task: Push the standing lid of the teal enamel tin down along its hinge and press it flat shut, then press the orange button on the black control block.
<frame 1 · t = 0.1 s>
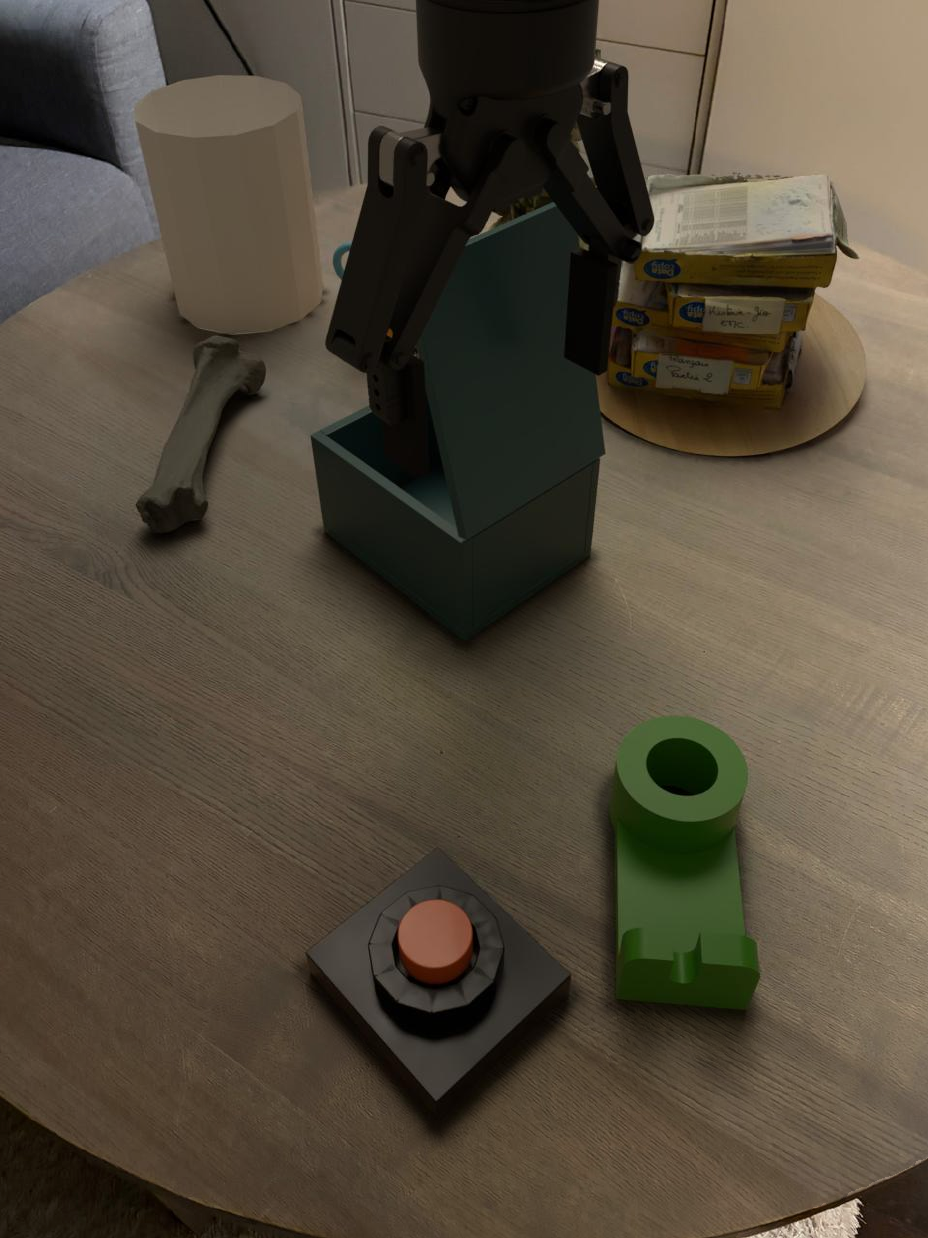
hand: (500, 411, 57), 18 cm above the table, tool pointing down, fingers open, 13 cm apart
control block: (438, 982, 54), on the table
bone: (212, 453, 86), on the table
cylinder: (402, 337, 98), on the table
tin: (455, 543, 77), on the table
container: (251, 297, 103), on the table
figurine: (536, 258, 108), on the table
green ring bracket: (673, 875, 58), on the table
tin lid: (514, 372, 62), point 17 cm above the table, hinge at 75.0°
button: (435, 941, 51), point 4 cm above the table, slide at 0.1 cm
paper stack: (713, 374, 93), on the table
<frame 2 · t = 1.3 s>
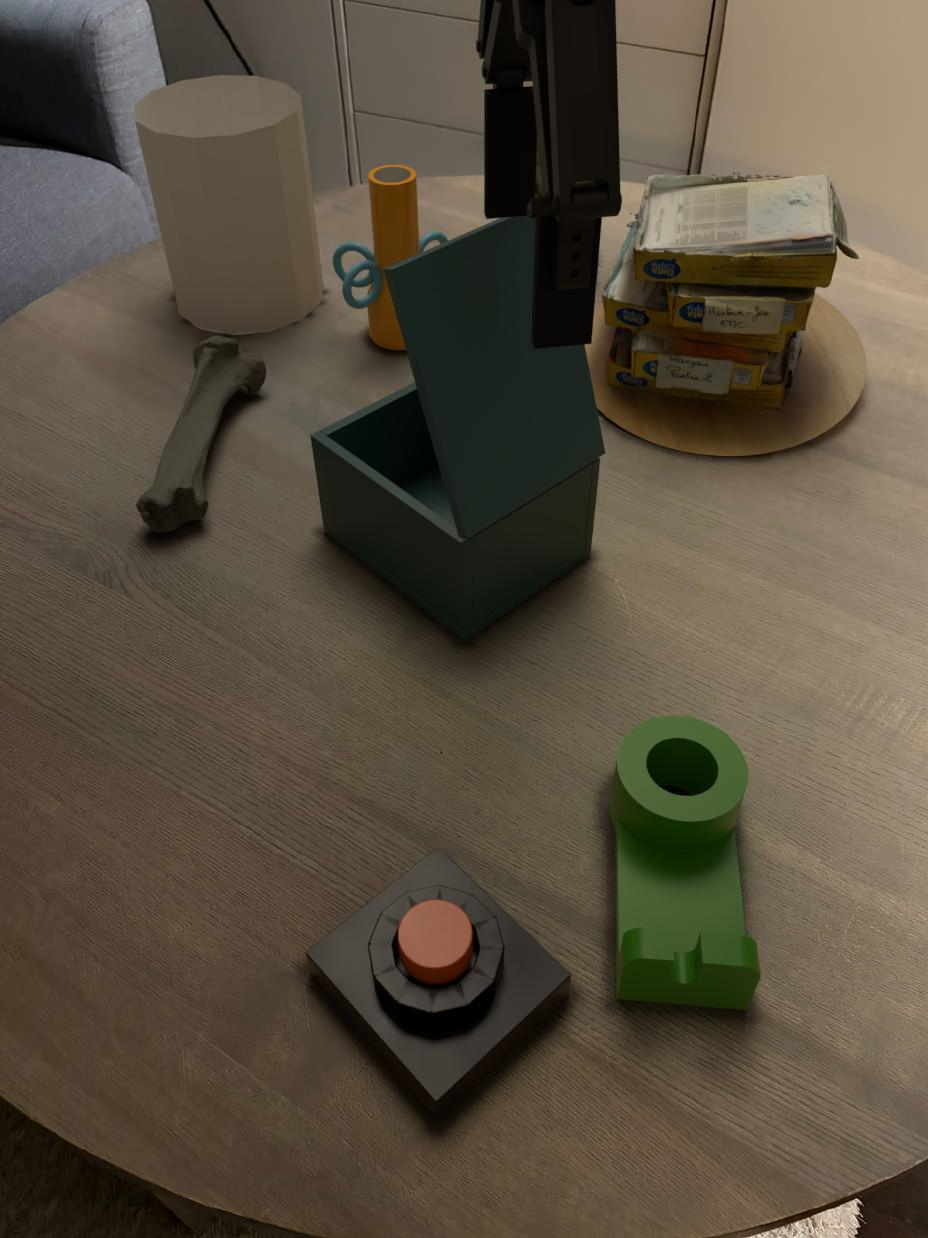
hand: (532, 273, 53), 26 cm above the table, tool pointing down, fingers open, 13 cm apart
tin lid: (506, 371, 63), point 17 cm above the table, hinge at 70.0°
everything else where it was.
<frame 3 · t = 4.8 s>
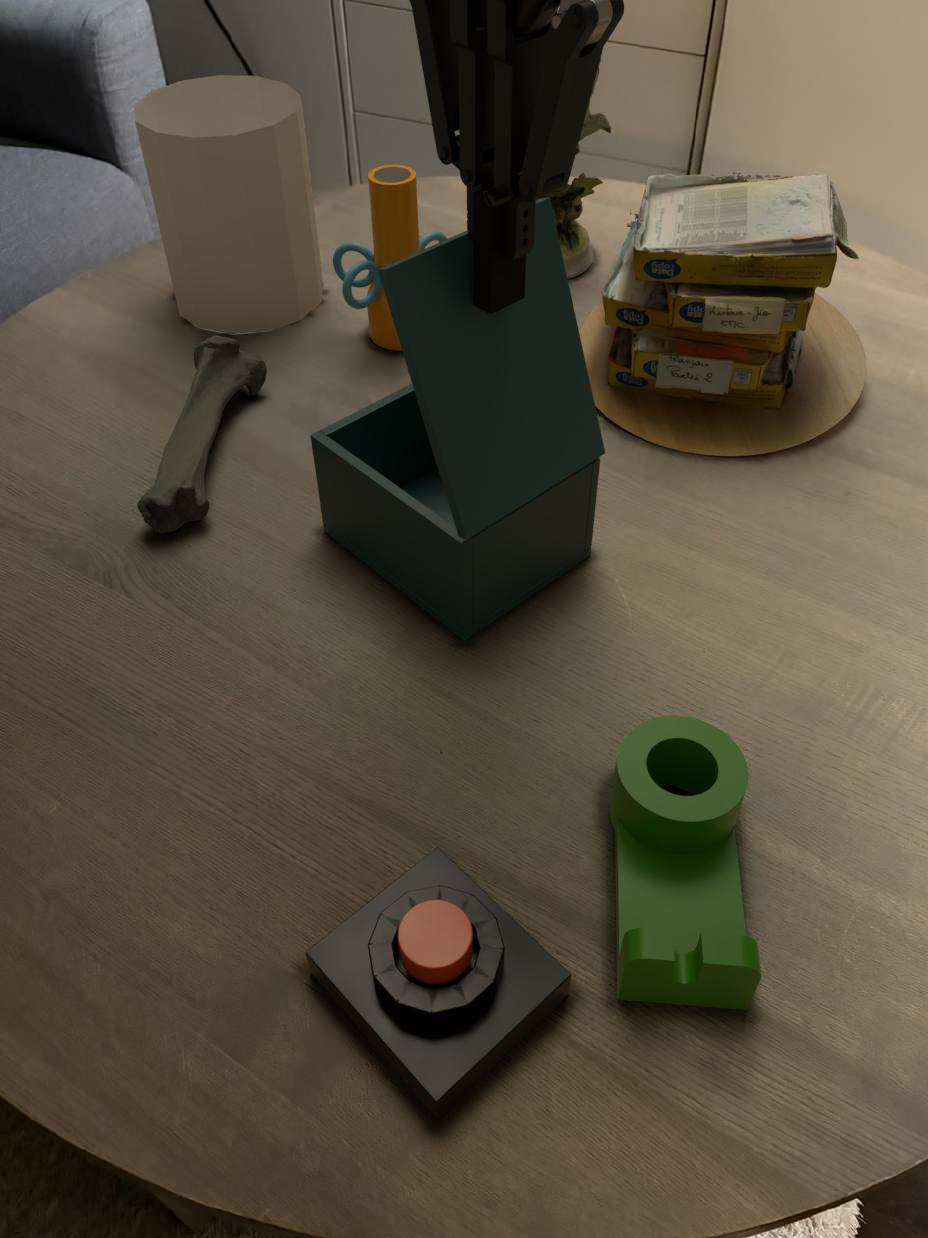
hand: (499, 300, 60), 21 cm above the table, tool pointing down, fingers closed
tin lid: (503, 370, 63), point 17 cm above the table, hinge at 68.1°, touching gripper
everything else where it was.
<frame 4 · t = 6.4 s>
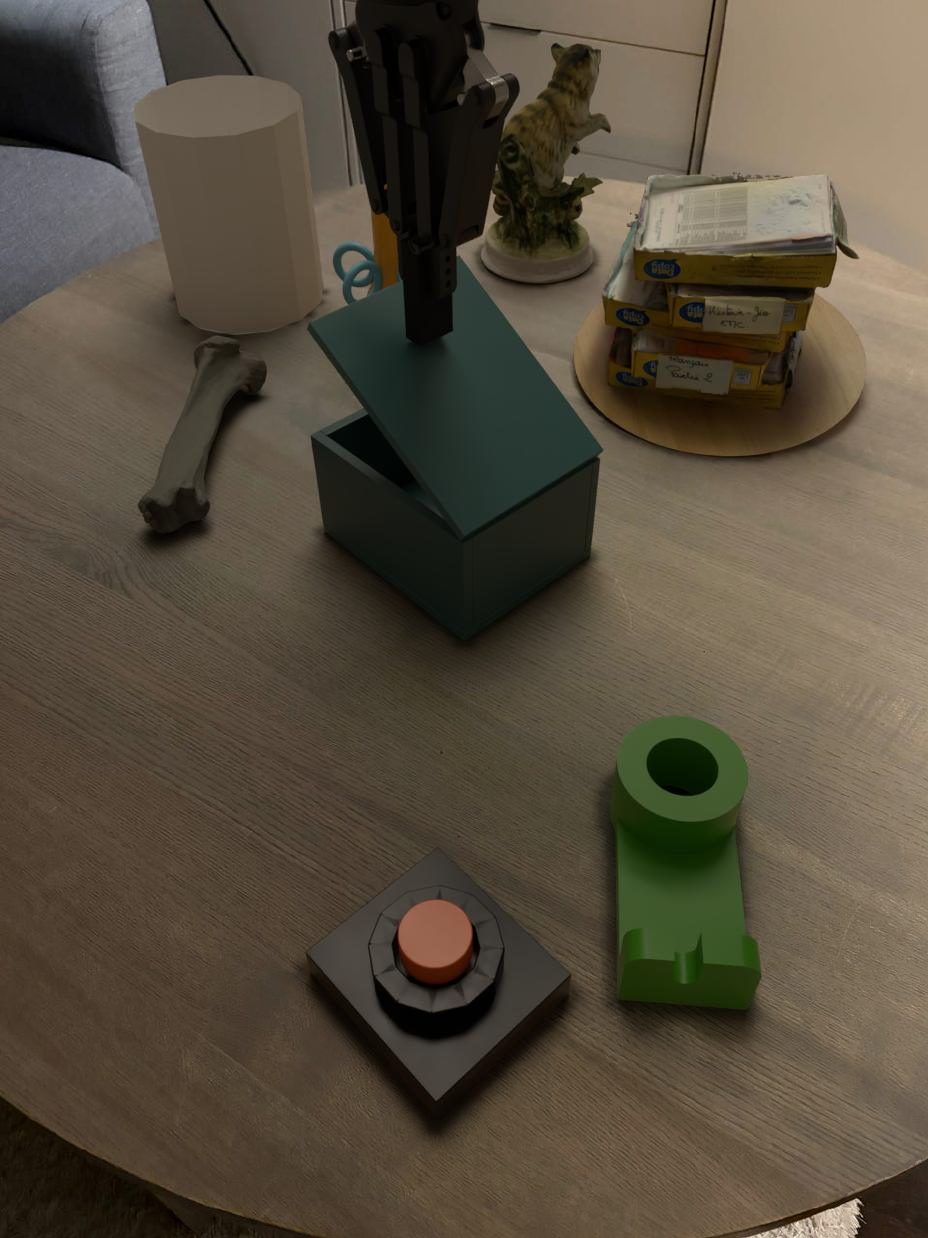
hand: (429, 333, 67), 16 cm above the table, tool pointing down, fingers closed
tin lid: (459, 391, 67), point 14 cm above the table, hinge at 31.4°, touching gripper
everything else where it was.
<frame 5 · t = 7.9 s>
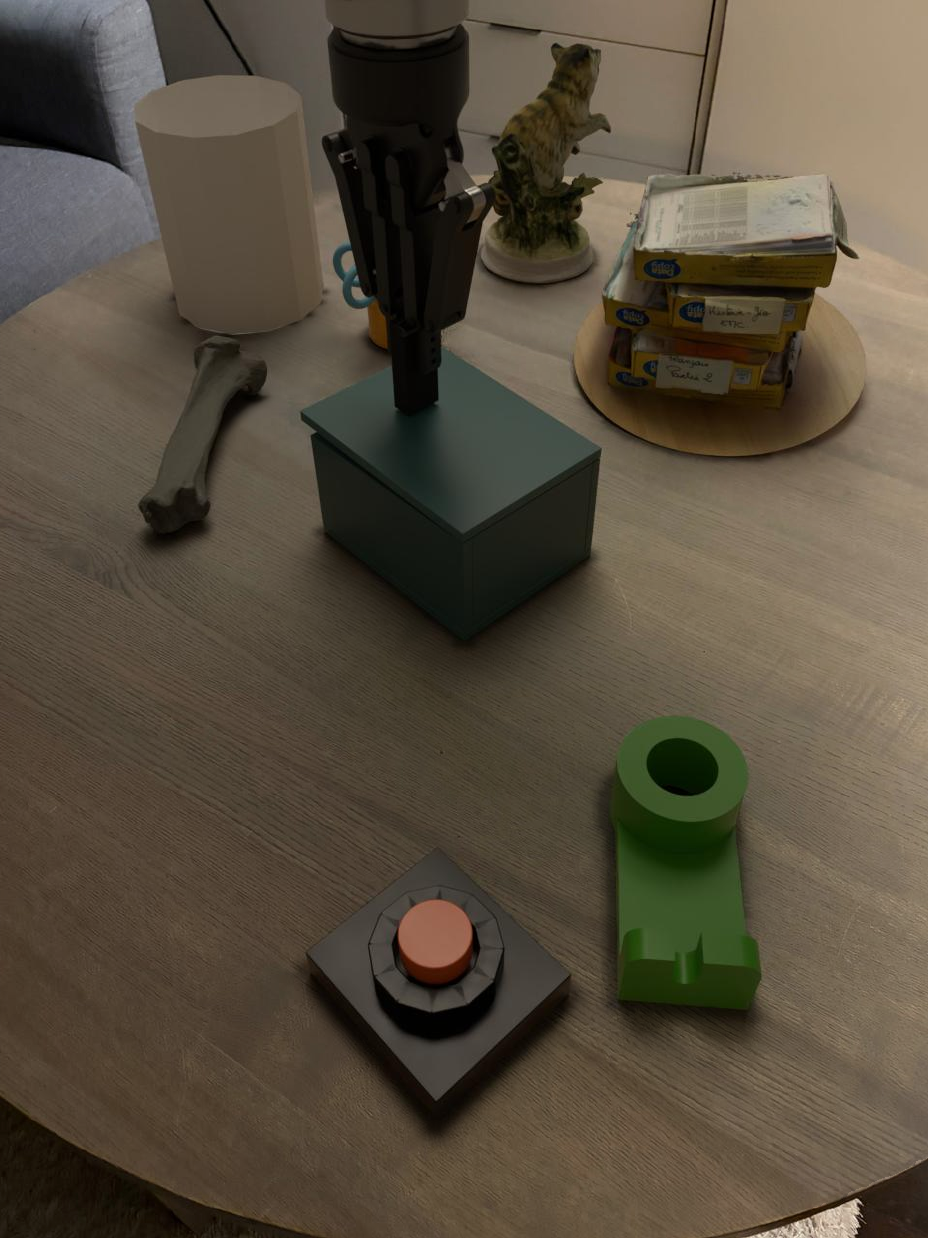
hand: (416, 403, 72), 10 cm above the table, tool pointing down, fingers closed
tin lid: (448, 433, 71), point 10 cm above the table, hinge at 2.4°
everything else where it was.
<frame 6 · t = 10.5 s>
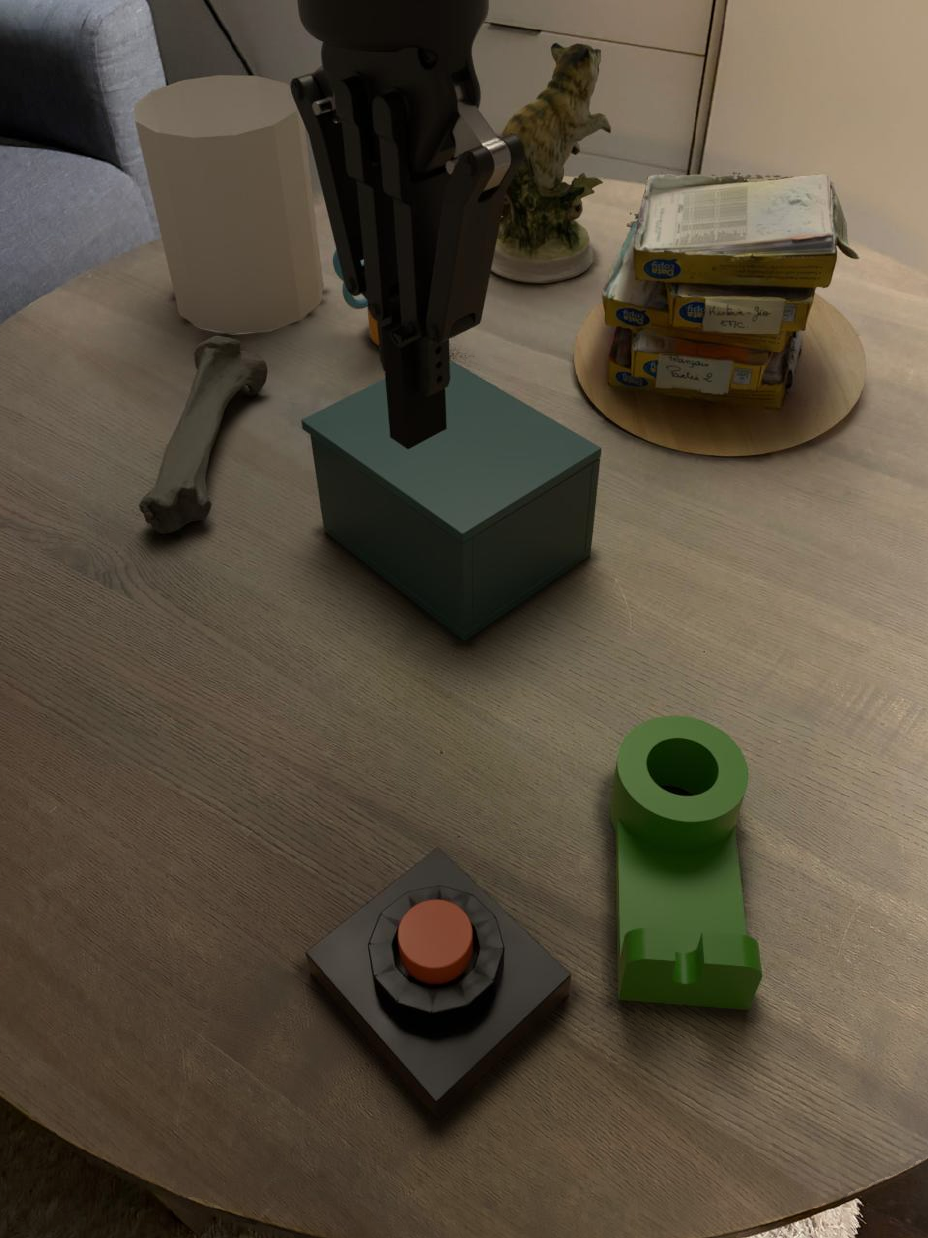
hand: (418, 432, 56), 19 cm above the table, tool pointing down, fingers closed
tin lid: (448, 438, 71), point 9 cm above the table, hinge at -0.2°, touching tin
everything else where it was.
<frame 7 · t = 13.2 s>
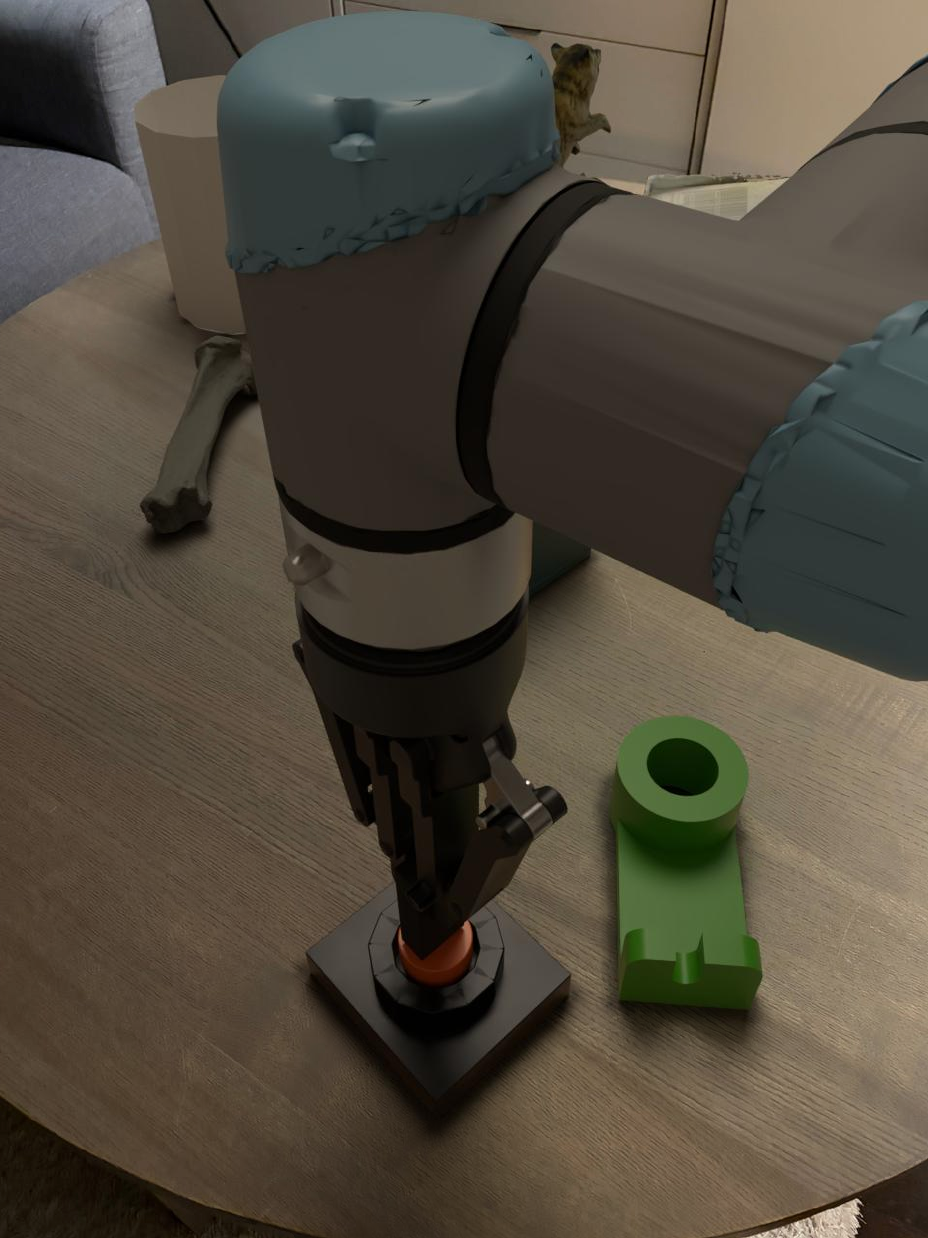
hand: (433, 932, 50), 5 cm above the table, tool pointing down, fingers closed
button: (435, 944, 51), point 4 cm above the table, slide at -0.2 cm, touching gripper
everything else where it was.
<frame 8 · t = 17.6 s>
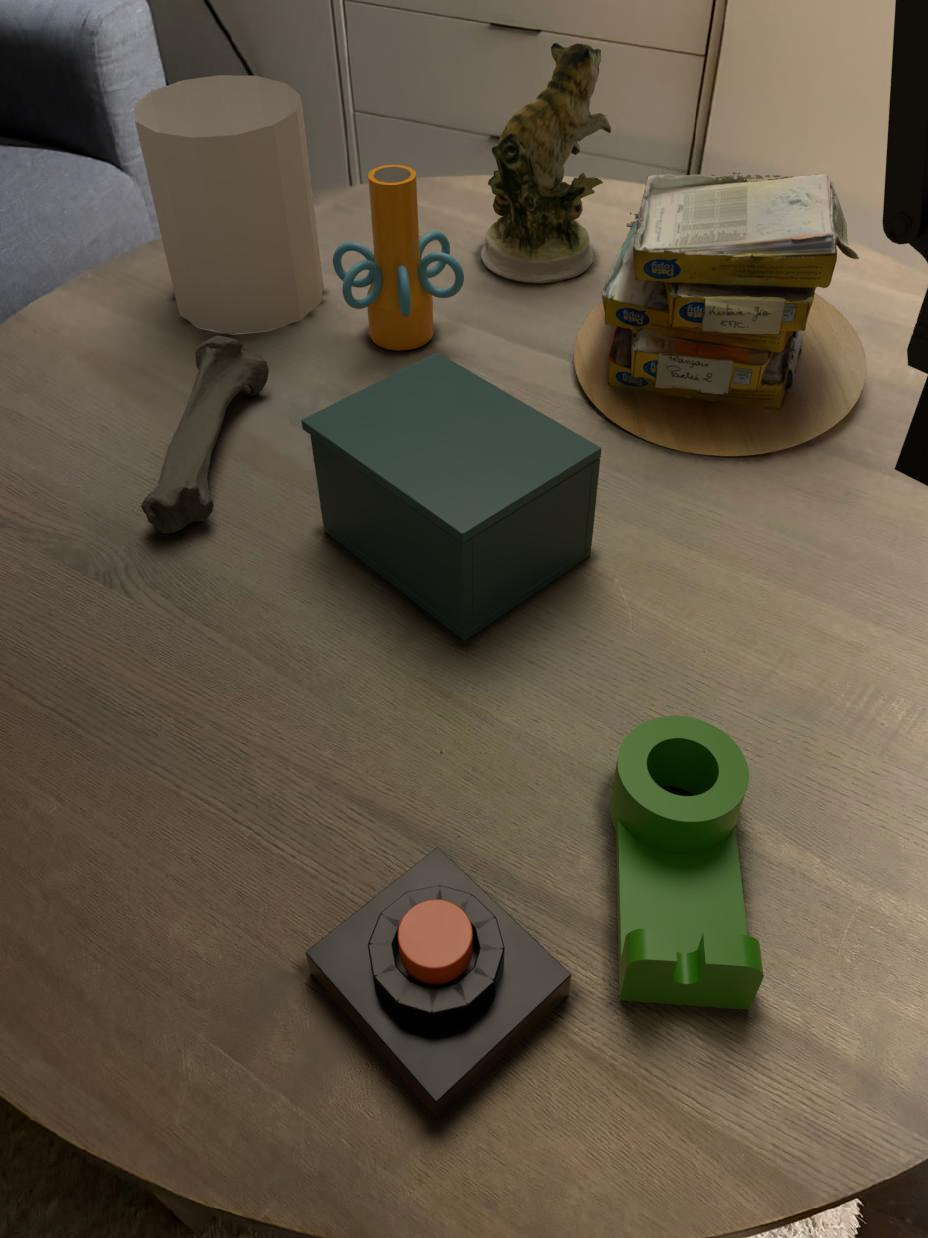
button: (435, 941, 51), point 4 cm above the table, slide at 0.1 cm
everything else where it was.
at the end: tin lid at +0° (first picture: +75°); button pushed in 1.0 cm at the most during the clip, back to where it started at the end; button slide at 0.1 cm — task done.
